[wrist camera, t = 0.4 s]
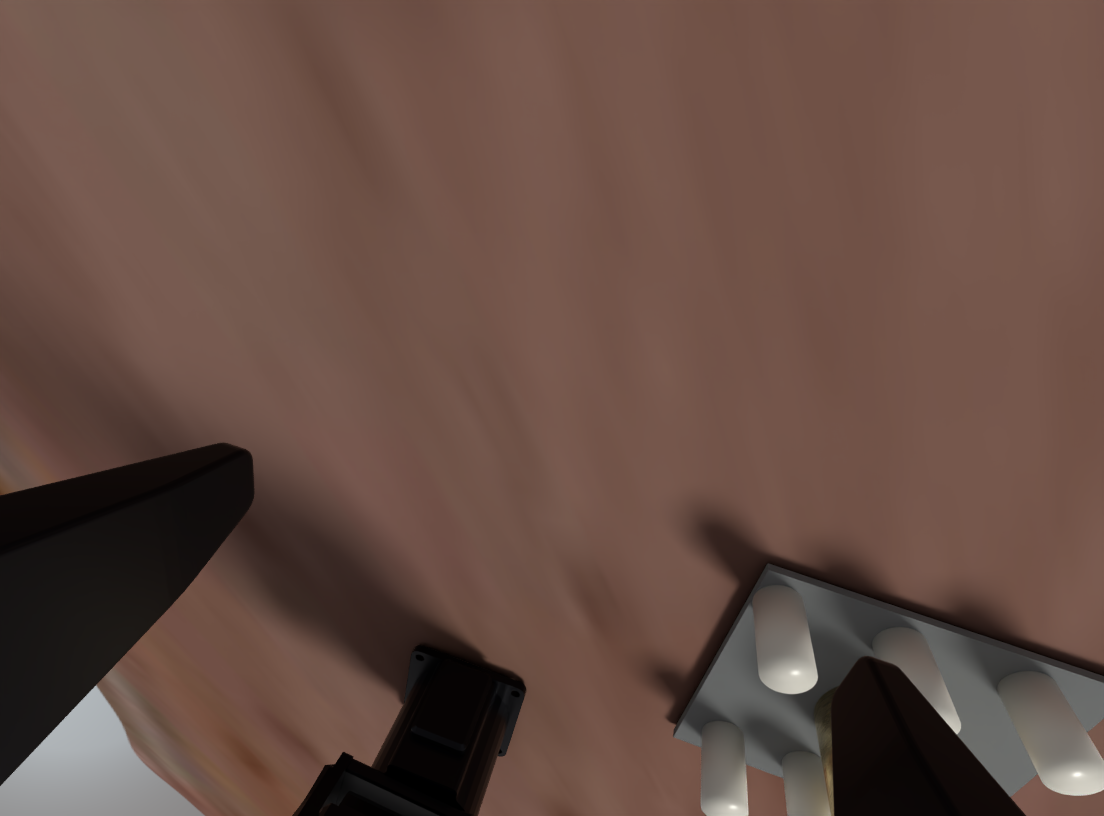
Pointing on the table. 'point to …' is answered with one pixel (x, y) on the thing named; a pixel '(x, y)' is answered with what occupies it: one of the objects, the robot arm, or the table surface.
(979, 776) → the robot arm
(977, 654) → the mat
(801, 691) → the spacers
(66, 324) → the table surface
